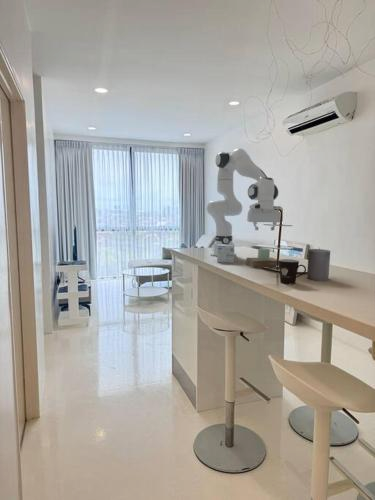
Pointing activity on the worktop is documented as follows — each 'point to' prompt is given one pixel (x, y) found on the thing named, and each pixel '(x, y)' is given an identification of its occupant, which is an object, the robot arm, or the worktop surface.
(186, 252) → the worktop surface
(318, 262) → the pillar candle
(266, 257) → the sage block
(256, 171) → the robot arm
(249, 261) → the walnut plinth
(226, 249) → the light bulb box
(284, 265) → the coffee mug
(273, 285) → the worktop surface
